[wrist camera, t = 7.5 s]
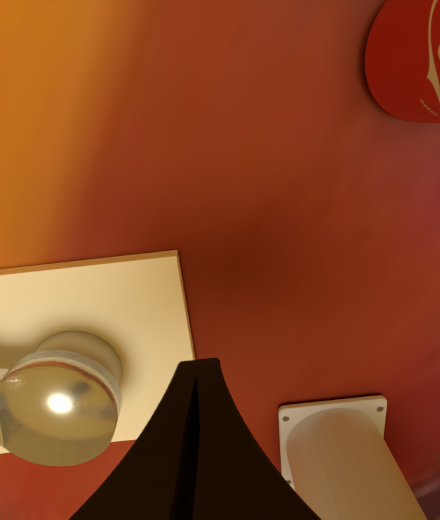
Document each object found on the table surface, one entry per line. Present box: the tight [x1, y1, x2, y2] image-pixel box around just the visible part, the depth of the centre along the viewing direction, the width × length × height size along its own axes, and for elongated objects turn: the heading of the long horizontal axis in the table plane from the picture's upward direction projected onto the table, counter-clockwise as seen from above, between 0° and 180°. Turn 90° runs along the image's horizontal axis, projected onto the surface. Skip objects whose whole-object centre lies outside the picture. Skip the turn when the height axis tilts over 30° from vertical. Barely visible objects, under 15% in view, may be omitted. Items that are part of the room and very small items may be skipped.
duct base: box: [0, 250, 195, 453], centre depth 22 cm, size 14×17×3 cm
